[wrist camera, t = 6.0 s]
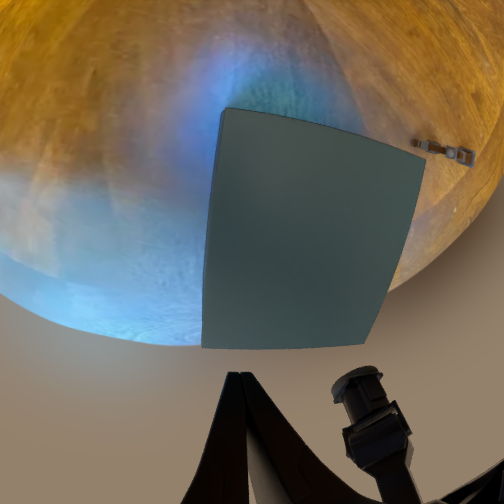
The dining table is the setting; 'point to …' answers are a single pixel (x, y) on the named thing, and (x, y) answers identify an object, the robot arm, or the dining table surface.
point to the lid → (302, 233)
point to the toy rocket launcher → (449, 152)
